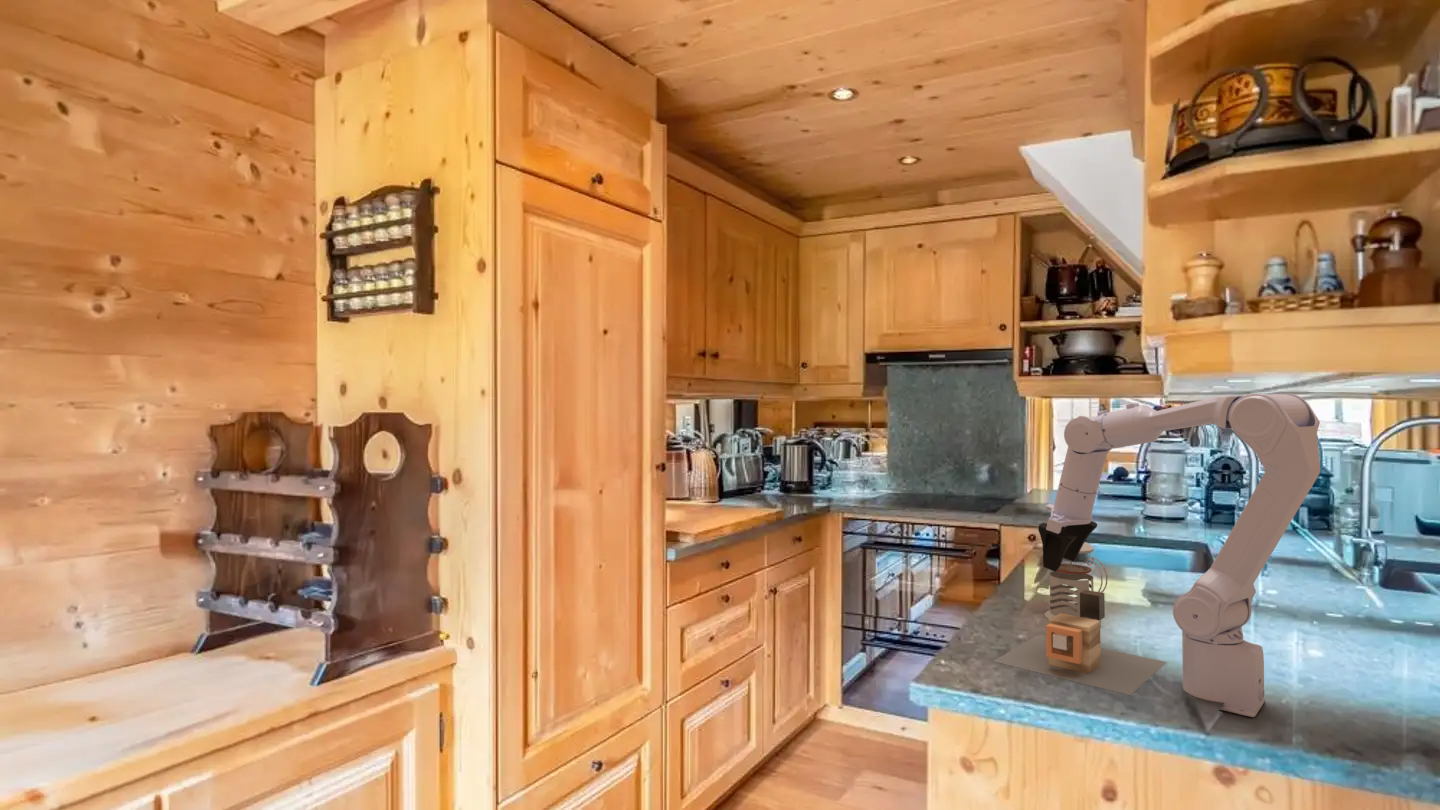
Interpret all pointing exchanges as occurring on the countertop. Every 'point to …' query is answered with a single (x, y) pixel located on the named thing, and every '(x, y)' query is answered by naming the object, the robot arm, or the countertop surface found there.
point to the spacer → (1068, 657)
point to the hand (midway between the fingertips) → (1059, 563)
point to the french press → (1071, 585)
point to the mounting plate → (1112, 674)
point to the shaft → (1089, 608)
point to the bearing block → (1088, 642)
